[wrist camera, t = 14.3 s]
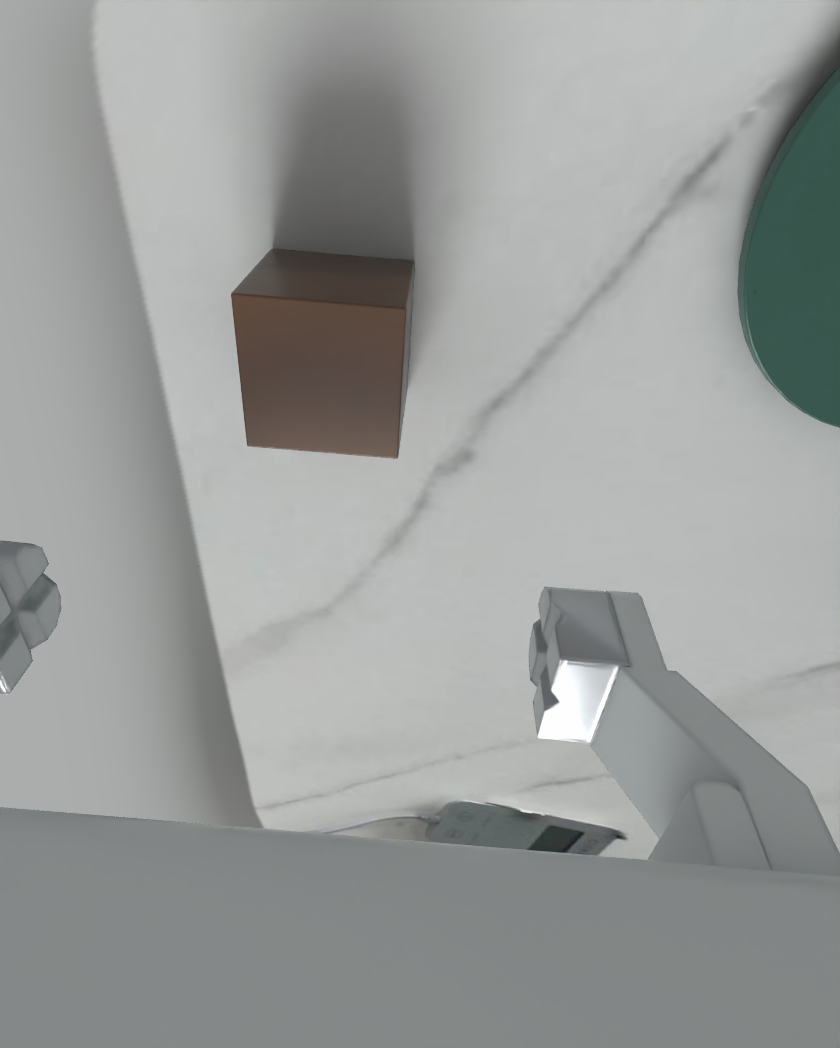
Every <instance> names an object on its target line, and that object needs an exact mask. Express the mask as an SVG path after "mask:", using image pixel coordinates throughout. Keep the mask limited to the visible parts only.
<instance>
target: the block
mask: <svg viewBox="0 0 840 1048" xmlns="http://www.w3.org/2000/svg"><path fill="white" fill-rule="evenodd" d="M414 272H415V262H414V261H408V260H396V259H385V258H373V257H361V256H350V255H338V254H326V253H315V252H303V251H292V250H280V249H271V250H270V251H269V252H268V253H267V254H266V255H265V257H264V258H263V259H262V260H261V261H260V262H259V263H258V264H257V265H256V267H255V268H254V269H253V270H252V271H251V272H250V273H249V274H248V276H247V277H246V278H245V279H244V280H243V281H242V282H241V283H240V284H239V286H238V287H237V288H236V289H235V290H234V291H233V292H232V294H231V297H232V307H233V316H234V326H235V335H236V345H237V354H238V364H239V373H240V382H241V392H242V401H243V411H244V420H245V430H246V439H247V446H251V447H263V448H275V449H287V450H299V451H311V452H323V453H335V454H347V455H359V456H371V457H383V458H395V459H396V458H398V455H399V447H400V440H401V432H402V425H403V417H404V410H405V403H406V395H407V382H408V367H409V351H410V335H411V319H412V304H413V288H414Z"/></svg>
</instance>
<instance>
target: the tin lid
mask: <svg viewBox="0 0 840 1048" xmlns="http://www.w3.org/2000/svg"><path fill="white" fill-rule="evenodd" d="M738 302H739V315H740V320H741V324H742V328H743V332H744V337H745V340H746V343H747V345H748V347H749V350H750V352H751V354H752V357H753V359H754V361H755V363H756V364H757V366H758V367H759V369H760V370H761V372H762V373H763V375H764V376H765V378H766V379H767V380H768V381H769V382H770V383H771V384H772V385H773V387H774V388H775V389H776V390H777V391H778V392H779V393H780V394H781V395H782V396H783V397H784V398H785V399H786V400H787V401H788V402H790V403H791V404H793V405H794V406H795V407H797V408H798V409H799V410H801V411H802V412H804V413H806V414H808V415H810V416H811V417H813V418H815V419H817V420H819V421H821V422H824V423H827V424H830V425H833V426H836V427H839V428H840V66H839V67H838V68H837V70H836V71H835V72H834V73H833V74H832V76H831V77H830V78H829V79H828V80H827V82H826V83H825V84H824V85H823V86H822V88H821V89H820V90H819V91H818V92H817V94H816V95H815V96H814V97H813V98H812V100H811V101H810V103H809V104H808V106H807V107H806V109H805V110H804V111H803V113H802V114H801V116H800V117H799V119H798V120H797V121H796V123H795V124H794V126H793V127H792V129H791V130H790V132H789V133H788V135H787V137H786V139H785V140H784V142H783V144H782V146H781V147H780V149H779V151H778V153H777V155H776V156H775V158H774V160H773V162H772V163H771V165H770V167H769V169H768V172H767V174H766V176H765V179H764V181H763V183H762V185H761V188H760V190H759V192H758V195H757V197H756V199H755V202H754V205H753V208H752V212H751V215H750V218H749V221H748V224H747V227H746V231H745V235H744V240H743V245H742V251H741V256H740V261H739V275H738Z"/></svg>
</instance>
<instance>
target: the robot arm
mask: <svg viewBox="0 0 840 1048" xmlns="http://www.w3.org/2000/svg"><path fill="white" fill-rule="evenodd" d="M48 564H49V563H48V560H47V558H46V556H45V553H44V551H43V549H42V547H39V546H37V545H34V544H28V543H19V542H10V541H0V693H1V694H10V693H11V691H12V690H13V688H14V687H15V686H16V684H17V683H18V681H19V680H20V678H21V677H22V676H23V674H24V673H25V671H26V670H27V668H28V667H29V666H30V664H31V663H32V661H33V660H32V655H31V649H32V648H34V647H36V646H38V645H39V644H41V643H43V642H45V641H46V640H48V638H49V637H50V635H51V634H52V632H53V631H54V629H55V628H56V626H57V622H58V618H59V615H60V612H61V597H60V593H59V590H58V587H57V584H56V583H54V582H53V581H52V580H51V579H50V578H48V577H47V576H46V575H45V574H44V571H45V569H46V567H47V566H48ZM538 605H539V612H540V619H539V620H538V621H537V622H535V623H534V624H533V629H532V633H531V638H530V647H529V671H530V680H531V681H532V682H533V683H534V684H535V686H536V687H537V689H536V693H535V697H534V701H533V706H534V714H535V722H536V730H537V738H545V739H554V740H564V741H573V742H582V743H591V745H590V746H591V748H592V749H593V750H594V752H595V753H596V754H597V756H598V757H599V758H600V760H601V761H602V762H603V764H604V765H605V766H606V768H607V769H608V770H609V772H610V773H611V775H612V776H613V777H614V779H615V780H616V781H617V783H618V784H619V785H620V787H621V788H622V789H623V791H624V792H625V793H626V795H627V796H628V797H629V799H630V800H631V801H632V803H633V804H634V806H635V807H636V808H637V810H638V811H639V812H640V814H641V815H642V816H643V818H644V819H645V820H646V822H647V823H648V824H649V826H650V827H651V828H652V830H653V831H654V832H655V834H656V835H657V837H658V838H659V839H660V840H659V842H658V843H657V845H656V847H655V848H654V850H653V852H652V853H651V855H650V857H649V858H648V860H640V859H628V858H616V857H604V856H592V855H579V854H567V853H555V852H543V851H531V850H518V849H506V848H494V847H482V846H470V845H457V844H445V843H433V842H420V841H408V840H396V839H383V838H371V837H359V836H346V835H334V834H322V833H309V832H297V831H285V830H272V829H259V828H247V827H235V826H223V825H211V824H197V823H186V822H174V821H162V820H150V819H138V818H125V817H113V816H101V815H89V814H77V813H64V812H52V811H40V810H27V809H16V808H3V807H0V1048H840V853H839V851H838V849H837V847H836V845H835V843H834V841H833V839H832V836H831V834H830V832H829V830H828V828H827V826H826V824H825V822H824V820H823V818H822V815H821V813H820V811H819V809H818V807H817V805H816V803H815V801H814V799H813V796H812V794H811V792H810V790H809V788H808V787H807V786H806V785H805V784H804V783H803V782H802V781H801V780H799V779H798V778H797V777H796V776H795V775H794V774H793V773H791V772H790V771H789V770H788V769H787V768H786V767H785V766H783V765H782V764H781V763H780V762H779V761H778V760H777V759H776V758H774V757H773V756H772V755H771V754H770V753H769V752H768V751H766V750H765V749H764V748H763V747H762V746H761V745H760V744H759V743H757V742H756V741H755V740H754V739H753V738H752V737H751V736H749V735H748V734H747V733H746V732H745V731H744V730H743V729H741V728H740V727H739V726H738V725H737V724H736V723H735V722H734V721H732V720H731V719H730V718H729V717H728V716H727V715H726V714H724V713H723V712H722V711H721V710H720V709H719V708H718V707H717V706H715V705H714V704H713V703H712V702H711V701H710V700H709V699H707V698H706V697H705V696H704V695H703V694H702V693H701V692H700V691H698V690H697V689H696V688H695V687H694V686H693V685H692V684H690V683H689V682H688V681H687V680H686V679H685V678H684V677H682V676H681V675H680V674H679V673H678V672H677V671H667V668H666V665H665V663H664V660H663V657H662V654H661V651H660V648H659V645H658V642H657V640H656V637H655V634H654V631H653V628H652V625H651V622H650V619H649V617H648V614H647V611H646V608H645V605H644V602H643V599H642V597H641V596H640V595H639V594H638V593H631V592H616V591H606V592H604V591H595V590H582V589H568V588H555V587H544V589H543V591H542V593H541V597H540V600H539V604H538Z"/></svg>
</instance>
